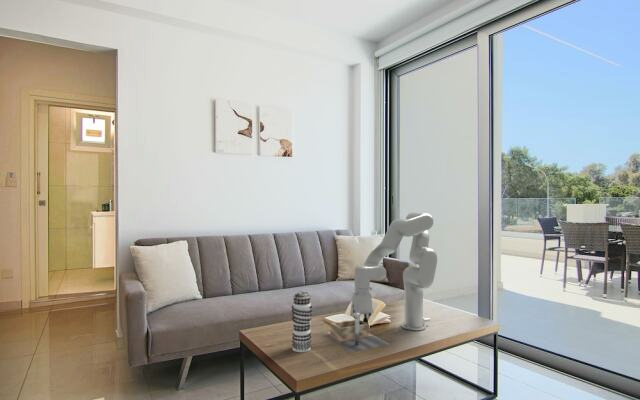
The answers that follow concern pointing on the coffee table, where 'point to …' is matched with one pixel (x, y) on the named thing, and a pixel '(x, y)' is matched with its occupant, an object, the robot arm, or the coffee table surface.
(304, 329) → the decorative candle
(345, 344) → the pin stand
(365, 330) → the open wooden box
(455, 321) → the coffee table surface
